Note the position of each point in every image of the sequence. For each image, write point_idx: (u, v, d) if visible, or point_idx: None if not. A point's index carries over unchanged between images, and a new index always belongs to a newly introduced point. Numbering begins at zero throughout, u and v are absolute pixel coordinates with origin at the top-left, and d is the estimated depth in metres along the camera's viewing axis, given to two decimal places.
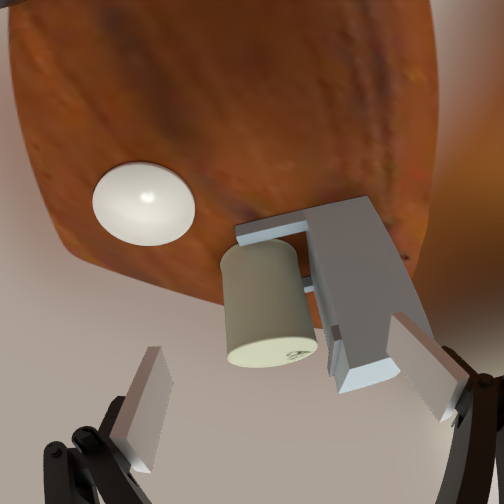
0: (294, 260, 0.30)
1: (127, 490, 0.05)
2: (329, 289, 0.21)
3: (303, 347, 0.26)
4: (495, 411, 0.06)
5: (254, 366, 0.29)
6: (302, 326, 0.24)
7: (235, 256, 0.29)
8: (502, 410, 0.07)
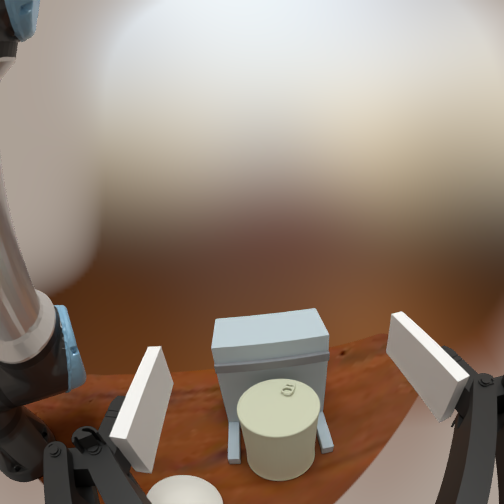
0: None
1: (127, 490, 0.05)
2: (220, 387, 0.33)
3: (273, 387, 0.30)
4: (495, 411, 0.06)
5: (311, 418, 0.24)
6: None
7: (250, 463, 0.28)
8: (502, 410, 0.07)
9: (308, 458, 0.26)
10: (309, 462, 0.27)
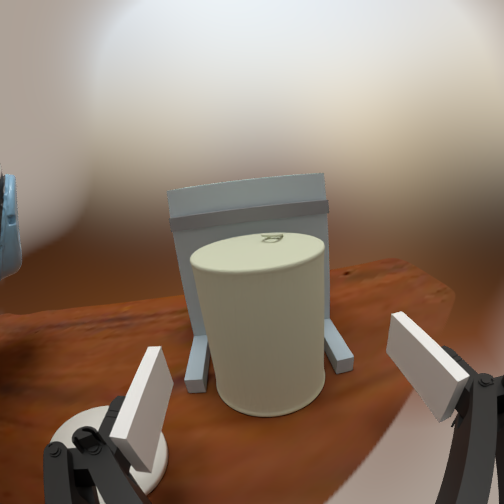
0: None
1: (127, 490, 0.05)
2: None
3: (251, 239, 0.22)
4: (495, 410, 0.06)
5: (312, 252, 0.16)
6: None
7: (219, 386, 0.19)
8: (502, 410, 0.07)
9: (315, 367, 0.18)
10: (318, 381, 0.19)
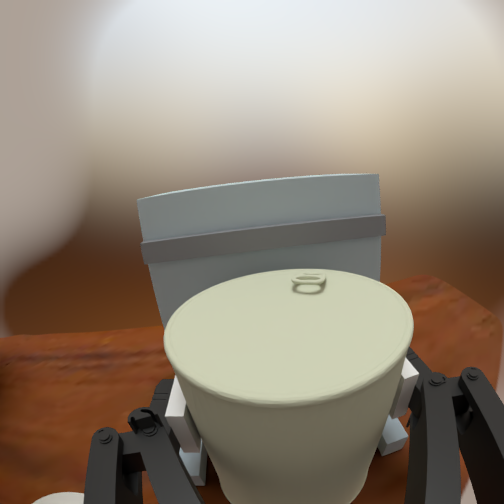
0: None
1: (178, 474, 0.06)
2: (159, 308, 0.16)
3: (272, 282, 0.13)
4: (452, 409, 0.07)
5: (400, 330, 0.07)
6: None
7: (224, 488, 0.11)
8: (463, 411, 0.08)
9: (365, 471, 0.09)
10: (363, 479, 0.10)
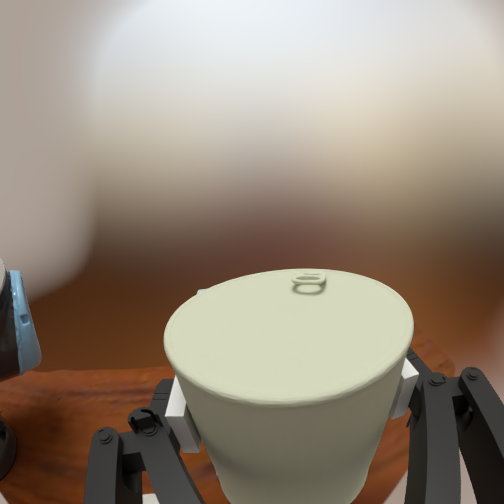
0: None
1: (178, 474, 0.06)
2: None
3: (272, 282, 0.13)
4: (451, 409, 0.07)
5: (400, 331, 0.07)
6: None
7: (224, 488, 0.11)
8: (463, 411, 0.08)
9: (365, 471, 0.09)
10: (363, 479, 0.10)
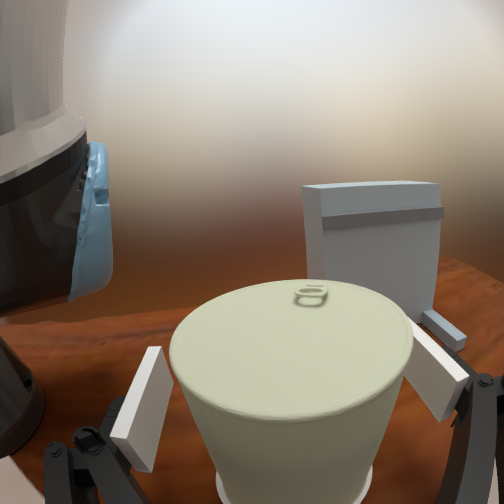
0: None
1: (127, 490, 0.05)
2: (324, 262, 0.25)
3: (275, 294, 0.13)
4: (495, 411, 0.06)
5: (400, 345, 0.08)
6: None
7: (227, 493, 0.11)
8: (502, 410, 0.07)
9: (365, 476, 0.09)
10: (363, 484, 0.10)
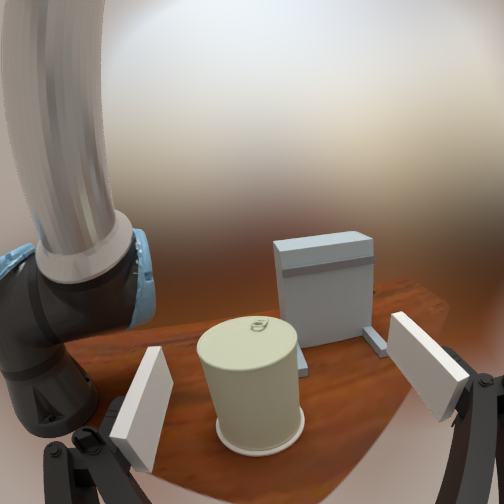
0: None
1: (127, 490, 0.05)
2: (284, 296, 0.39)
3: (243, 324, 0.27)
4: (495, 411, 0.06)
5: (286, 349, 0.22)
6: None
7: (221, 428, 0.25)
8: (502, 410, 0.07)
9: (291, 418, 0.23)
10: (293, 426, 0.24)
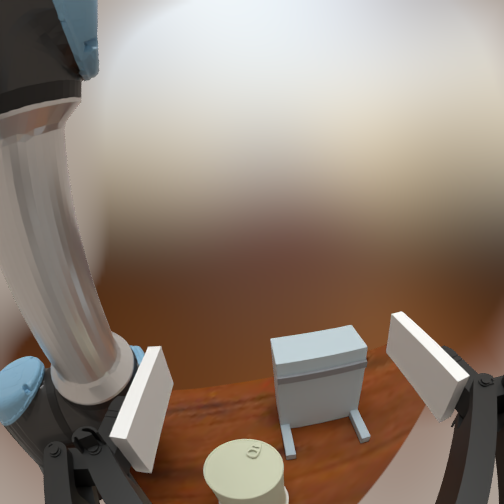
0: None
1: (127, 490, 0.05)
2: (278, 395, 0.39)
3: (240, 448, 0.27)
4: (495, 411, 0.06)
5: (273, 482, 0.21)
6: None
7: None
8: (502, 410, 0.07)
9: None
10: None
